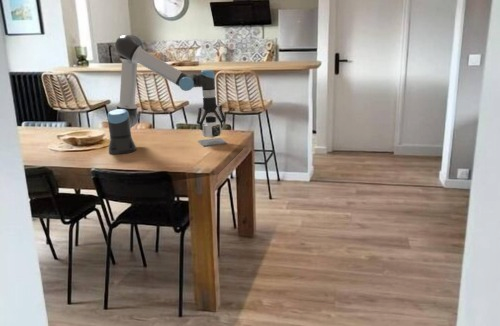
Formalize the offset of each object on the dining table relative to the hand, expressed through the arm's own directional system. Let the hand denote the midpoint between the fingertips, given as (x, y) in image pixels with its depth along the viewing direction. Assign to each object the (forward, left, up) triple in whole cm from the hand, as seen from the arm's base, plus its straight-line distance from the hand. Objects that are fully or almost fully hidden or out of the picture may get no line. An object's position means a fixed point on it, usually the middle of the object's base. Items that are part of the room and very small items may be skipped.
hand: (211, 134), depth 270 cm
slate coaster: (0, 0, -5) cm, 5 cm away
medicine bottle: (0, 0, -1) cm, 1 cm away
